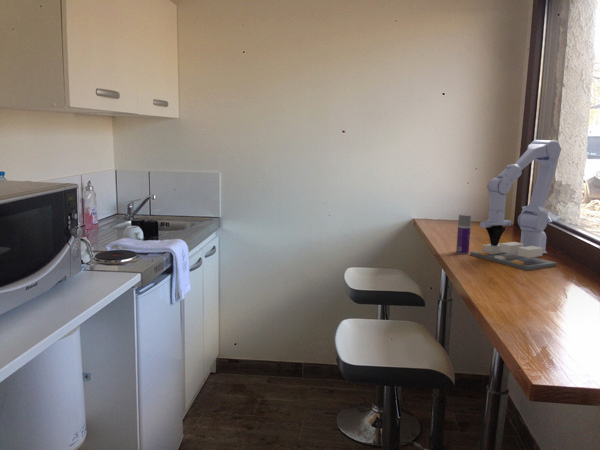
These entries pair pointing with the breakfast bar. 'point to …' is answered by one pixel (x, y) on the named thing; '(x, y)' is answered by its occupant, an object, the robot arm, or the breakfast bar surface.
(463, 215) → the container
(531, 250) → the button
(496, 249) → the button
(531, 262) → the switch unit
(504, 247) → the button
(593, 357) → the breakfast bar surface
